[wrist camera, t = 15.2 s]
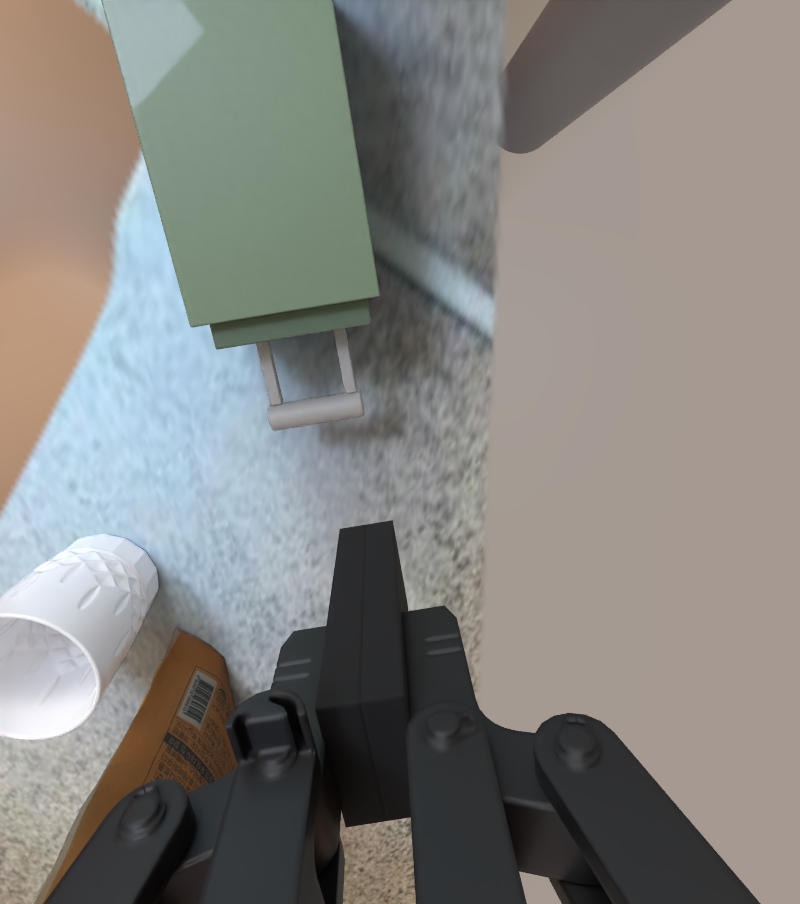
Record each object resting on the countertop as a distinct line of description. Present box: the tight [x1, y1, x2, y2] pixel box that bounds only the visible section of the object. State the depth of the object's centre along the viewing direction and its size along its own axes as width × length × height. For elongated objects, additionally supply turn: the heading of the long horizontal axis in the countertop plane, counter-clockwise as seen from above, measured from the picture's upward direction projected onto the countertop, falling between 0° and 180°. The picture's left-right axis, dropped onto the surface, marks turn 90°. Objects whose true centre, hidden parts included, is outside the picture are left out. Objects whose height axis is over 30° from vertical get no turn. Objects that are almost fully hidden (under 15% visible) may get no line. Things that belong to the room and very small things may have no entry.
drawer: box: [210, 299, 371, 431], centre depth 27 cm, size 18×7×7 cm, turn 9°
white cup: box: [0, 534, 159, 740], centre depth 32 cm, size 8×8×10 cm
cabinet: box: [101, 0, 380, 327], centre depth 26 cm, size 15×9×9 cm, turn 9°
